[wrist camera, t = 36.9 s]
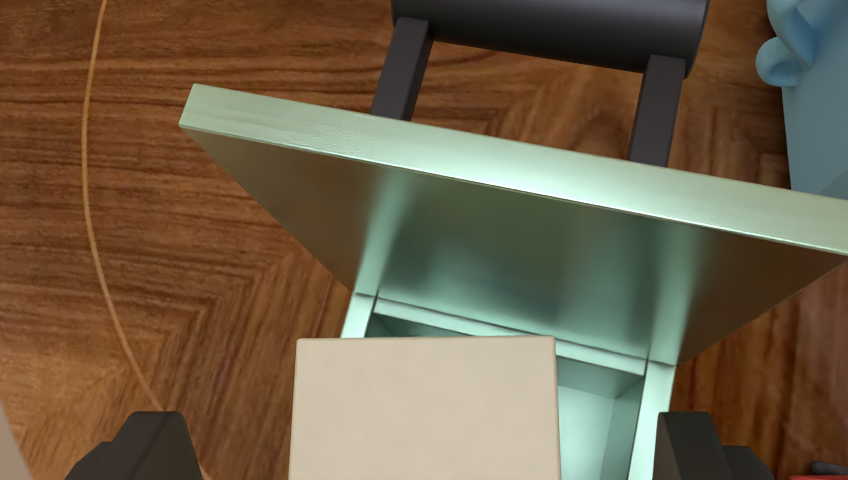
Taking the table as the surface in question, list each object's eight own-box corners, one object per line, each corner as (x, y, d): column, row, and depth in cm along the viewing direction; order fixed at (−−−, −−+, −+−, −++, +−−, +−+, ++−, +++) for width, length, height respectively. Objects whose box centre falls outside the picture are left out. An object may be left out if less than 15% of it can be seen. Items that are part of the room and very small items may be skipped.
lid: (857, 256, 10) (893, -84, 12) (176, 125, 12) (279, -150, 14) (679, 366, 22) (708, 191, 24) (347, 290, 24) (393, 133, 26)
